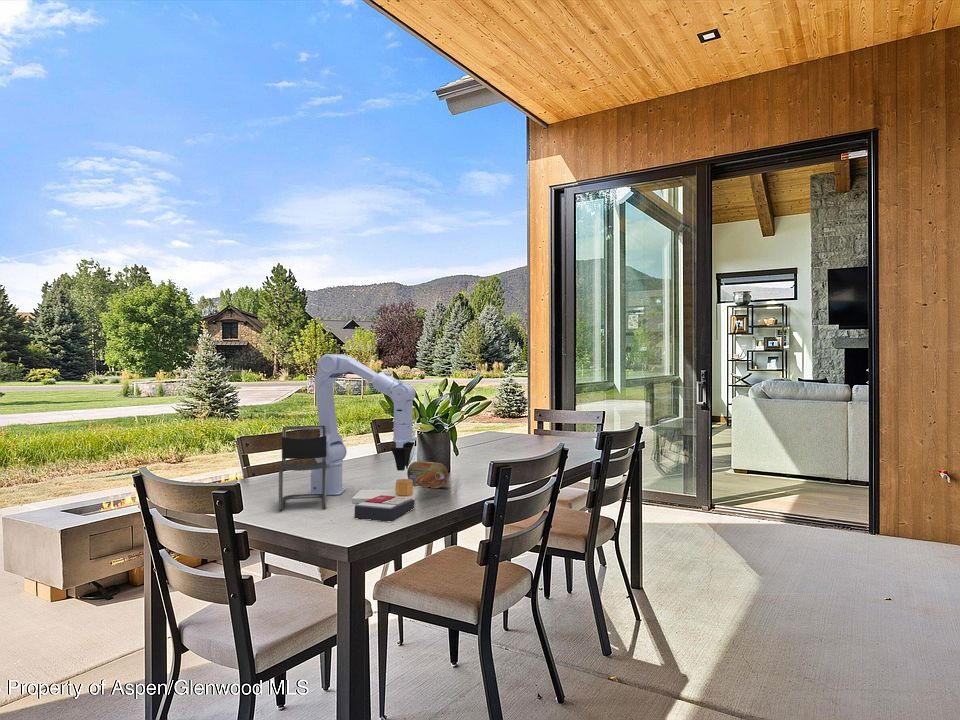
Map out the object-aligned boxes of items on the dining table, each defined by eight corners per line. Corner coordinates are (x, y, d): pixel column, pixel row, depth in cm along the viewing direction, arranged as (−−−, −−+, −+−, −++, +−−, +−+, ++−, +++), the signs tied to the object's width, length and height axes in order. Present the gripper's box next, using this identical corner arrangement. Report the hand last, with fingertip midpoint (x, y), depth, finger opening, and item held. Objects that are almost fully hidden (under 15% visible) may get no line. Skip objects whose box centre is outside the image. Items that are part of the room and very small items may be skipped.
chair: (326, 496, 187) (326, 425, 187) (326, 509, 170) (326, 432, 170) (282, 498, 183) (282, 426, 183) (278, 512, 167) (278, 433, 166)
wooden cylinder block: (394, 495, 180) (394, 482, 180) (397, 491, 185) (397, 478, 185) (411, 495, 180) (411, 482, 180) (413, 491, 185) (413, 478, 185)
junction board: (351, 503, 177) (351, 486, 177) (360, 494, 189) (360, 478, 189) (412, 504, 177) (412, 487, 177) (417, 494, 189) (417, 478, 189)
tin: (406, 485, 203) (406, 460, 203) (411, 483, 206) (412, 459, 206) (444, 490, 196) (444, 464, 196) (449, 488, 199) (449, 462, 199)
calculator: (414, 496, 172) (391, 506, 158) (414, 512, 172) (390, 523, 157) (380, 493, 175) (354, 502, 161) (379, 508, 175) (353, 519, 161)
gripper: (413, 426, 176) (412, 472, 176) (419, 421, 191) (418, 463, 191) (389, 426, 176) (388, 472, 176) (396, 420, 191) (396, 463, 191)
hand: (402, 468), depth 184 cm, fingers open, 7 cm apart
